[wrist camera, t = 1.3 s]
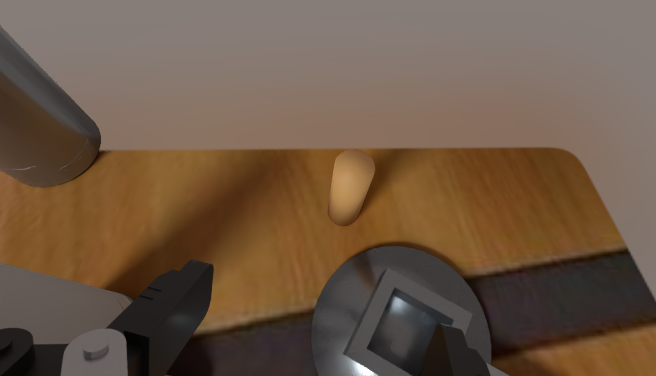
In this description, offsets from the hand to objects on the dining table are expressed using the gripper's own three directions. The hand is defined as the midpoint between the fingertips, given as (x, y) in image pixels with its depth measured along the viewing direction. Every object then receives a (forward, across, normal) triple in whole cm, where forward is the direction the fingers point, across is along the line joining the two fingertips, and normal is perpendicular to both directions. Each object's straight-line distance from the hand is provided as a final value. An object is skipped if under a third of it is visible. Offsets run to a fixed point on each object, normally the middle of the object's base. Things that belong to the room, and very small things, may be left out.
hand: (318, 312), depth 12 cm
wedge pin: (+24, 0, +6) cm, 24 cm away
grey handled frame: (+16, -10, +14) cm, 24 cm away
